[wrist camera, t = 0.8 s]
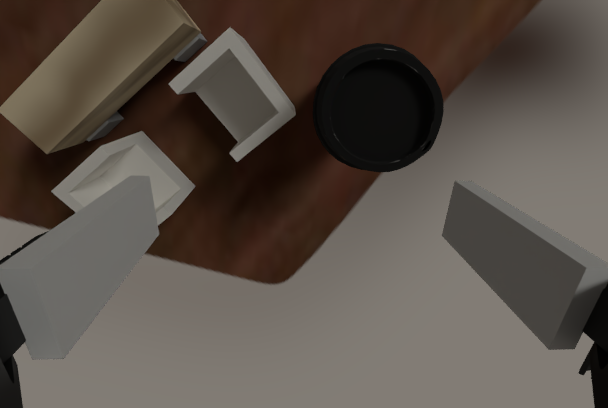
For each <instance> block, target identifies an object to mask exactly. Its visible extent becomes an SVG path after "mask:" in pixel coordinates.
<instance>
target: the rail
mask: <svg viewBox="0 0 608 408" xmlns="http://www.w3.org/2000/svg"><path fill="white" fill-rule="evenodd" d="M199 33H201V30H200V29H199V28H198V27H197V25H196V24H195V23H194V22H193V20H192V19H191V18H190V17H189V15H188V14H187V13H186V11H185V10H184V9H183V8H182V6H181V5H180V4H179V3H178V1H177V0H101V1H100V2H99V3H98V4H97V6H96V7H95V8H94V9H93V10H92V11H91V12H90V13H89V14H88V15H87V16H86V17H85V18H84V19H83V20H82V21H81V22H80V23H79V25H78V26H77V27H76V28H75V29H74V30H73V31H72V32H71V33H70V34H69V35H68V36H67V37H66V38H65V39H64V40H63V41H62V42H61V44H60V45H59V46H58V47H57V48H56V49H55V50H54V51H53V52H52V53H51V54H50V55H49V56H48V57H47V58H46V59H45V60H44V61H43V62H42V64H41V65H40V66H39V67H38V68H37V69H36V70H35V71H34V72H33V73H32V74H31V75H30V76H29V77H28V78H27V79H26V80H25V81H24V83H23V84H22V85H21V86H20V87H19V88H18V89H17V90H16V91H15V92H14V93H13V94H12V95H11V96H10V97H9V98H8V99H7V100H6V102H5V103H4V104H3V105H2V106H1V107H0V113H1V114H2V115H3V116H5V117H6V118H7V119H8V120H9V121H10V122H11V123H12V124H13V125H15V126H16V127H17V128H18V129H19V130H20V131H21V132H22V133H24V134H25V135H26V136H27V137H28V138H29V139H30V140H31V141H33V142H34V143H35V144H36V145H37V146H38V147H39V148H40V149H41V150H43V151H44V152H45V153H46V154H49V153H52V152H55V151H59V150H62V149H65V148H68V147H71V146H74V145H77V144H80V143H83V142H84V141H85V140H86V139H87V138H89V137H90V136H91V135H92V134H93V133H94V132H95V131H96V130H97V129H98V128H99V127H100V126H101V125H102V124H103V123H105V122H106V121H107V120H108V119H109V118H110V117H111V116H112V115H113V114H114V113H115V112H116V111H117V110H118V109H119V108H121V107H122V106H123V105H124V104H125V103H126V102H127V101H128V100H129V99H130V98H131V97H132V96H133V95H134V94H135V93H137V92H138V91H139V90H140V89H141V88H142V87H143V86H144V85H145V84H146V83H147V82H148V81H149V80H150V79H151V78H153V77H154V76H155V75H156V74H157V73H158V72H159V71H160V70H161V69H162V68H163V67H164V66H165V65H166V64H167V63H169V62H170V61H171V60H172V59H173V58H174V57H175V56H176V55H177V54H178V53H179V52H180V51H181V50H182V49H183V48H185V47H186V46H187V45H188V44H189V43H190V42H191V41H192V40H193V39H194V38H195V37H196V36H197V35H198V34H199Z"/></svg>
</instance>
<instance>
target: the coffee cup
mask: <svg viewBox="0 0 608 408" xmlns="http://www.w3.org/2000/svg"><path fill="white" fill-rule="evenodd" d="M442 117H443V98H442V94H441V90H440V88H439V86H438V84H437V82H436V79H435V78H434V77H433V75H432V74H431V72H430V71H429V70H428V69H427V68H426V67H425V66H424V65H423V64H422V63H421V62H420V61H419V60H418V59H417V58H416V57H415V56H414V55H413V54H411V53H409V52H408V51H406V50H405V49H402V48H400V47H397V46H394V45H390V44H380V43H375V44H367V45H362V46H360V47H357V48H354V49H352V50H350V51H348V52H347V53H345V54H343V55H342V56H340V57H339V58H338V59H337V60H336V61H335V62H334V63H333V64H331V66H330V67H329V68H328V70H327V71H326V72H325V74H324V75H323V77H322V79H321V81H320V83H319V85H318V87H317V90H316V94H315V97H314V104H313V119H314V126H315V129H316V132H317V135H318V137H319V139H320V141H321V143H322V145H323V146H324V147H325V148H326V150H327V151H328V152H329V153H330V154H331V155H332V156H333V157H335V158H336V159H337V160H338V161H340V162H342V163H344V164H346V165H348V166H350V167H354V168H357V169H361V170H368V171H374V172H390V171H394V170H398V169H401V168H403V167H405V166H408V165H409V164H411V163H413V162H414V161H416V160H417V159H418V158H420V157H421V156H423V155H424V154H425V153H426V152H427V151H429V150H430V149H431V147H432V145H433V144H434V141H435V139H436V137H437V134H438V132H439V128H440V126H441V122H442Z"/></svg>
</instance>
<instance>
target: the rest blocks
mask: <svg viewBox="0 0 608 408" xmlns="http://www.w3.org/2000/svg"><path fill="white" fill-rule="evenodd" d="M206 42H207V40H206V39H205V38H204V36H203V35H202V34H201V33H199V34H198V35H197V36H196V37H195V38H194V39H193V40H192V41H191V42H190V43H189V44H188V45H187V46H186V47H185V48H183V49H182V50H181V51H180V52H179V53H178V54H177V55H176V56H175V57H174V59H175V60H176V61H183V62H186V61H187V60H188V59H189V58H190V57H191V56H192V55H193V54H195V53H196V52H197V51H198V50H199V49H200V48H201V47H202V46H203V45H204V44H205V43H206ZM123 119H124V118H123V117H122V116H121V115H120V114H119V113H118V112H117V111H116V112H115V113H114V114H113V115H112V116H111V117H110V118H109V119H108V120H107V121H106V122H105V123H103V124H102V125H101V126H100V127H99V128H98V129H97V130H96V131H95V132H94V133H93V134H92V135H91V136H90V137H89V138H87V139H86V140H87V141H88V142H89V141H92V140H95V139H98V138H101V137H104V136H106V135H107V134H108V133H109V132H110V131H111V130H112V129H113V128H114V127H116V126H117V125H118V124H119V123H120V122H121V121H122V120H123Z"/></svg>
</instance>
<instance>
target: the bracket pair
mask: <svg viewBox="0 0 608 408" xmlns="http://www.w3.org/2000/svg"><path fill="white" fill-rule="evenodd" d="M169 85H170V86H171V88H172V89H173V90H174V91H175V92H176V93H177V94H184V93H190V92H196V93H197V95H198V96H199V97H200V98H201V99H202V100H203V102H204V103H205V104H206V105H207V106H208V107H209V109H210V110H211V111H212V112H213V113H214V114H215V116H216V117H217V118H218V119H219V120H220V122H221V123H222V124H223V125H224V126H225V127H226V129H227V130H228V131H229V132H230V133H231V134H232V136H233V137H234V138H235V139H236V140H237V141H238V143H237V144H236V145H235V146H234V148H233V149H232V150H231V151H230V153H229V154H230V155H231V156H232V157H233V158H234V159H235V160H236V162H238V161H239V160H240V159H242V158H243V157H244V156H245V155H247V154H248V153H249V152H250V151H251V150H253V149H254V148H255V147H256V146H258V145H259V144H260V143H261V142H263V141H264V140H265V139H266V138H268V137H269V136H270V135H271V134H273V133H274V132H275V131H276V130H278V129H279V128H280V127H281V126H283V125H284V124H285V123H286V122H288V121H289V120H290V119H291V118H293V117H294V116H295V115H296V112H295V106H294V105H293V104H292V102H291V101H290V100H289V98H288V97H287V96H286V94H285V93H284V92H283V90H282V89H281V88H280V86H279V85H278V84H277V82H276V81H275V79H274V78H273V77H272V75H271V74H270V73H269V71H268V70H267V69H266V67H265V66H264V65H263V63H262V62H261V61H260V59H259V58H258V57H257V55H256V54H255V53H254V51H253V50H252V49H251V47H250V46H249V45H248V43H247V42H246V41H245V39H244V38H242V37H241V36H240V35H239V34H238V33H236V32H235V31H234V30H233V29H232V28H229V29H227V30H226V31H225V32H224V33H223V34H222V35H221V36H220V37H219V38H218V39H217V40H215V41H214V42H213V43H212V44H211V45H210V46H209V47H208V48H207V49H206V50H205V51H203V52H202V53H201V54H200V55H199V56H198V57H197V58H196V59H195V60H194V61H193V62H192V63H190V64H189V65H188V66H187V67H186V68H185V69H184V70H183V71H182V72H181V73H180V74H178V75H177V76H176V77H175V78H174V79H173V80H172V81H171V82H170V83H169ZM130 175H131V176H150V182H151V188H152V194H153V200H154V206H155V212H156V218H157V224H158V225H159V224H160V223H162V222H163V221H164V220H165V219H167V218H168V217H169V216H170V215H172V213H173V212H174V211H175V210H176V209H177V208H178V206H179V205H180V204H181V203H182V202H183V201H184V199H185V198H186V197H187V196H188V195H189V194H190V192H191V191H192V190H193V189H194V188H195V187H196V186H195V185H194V184H193V183H192V182H191V181H190V180H189V179H188V178H187V177H186V176H185V175H184V174H183V173H182V172H181V171H180V170H179V169H178V168H177V167H176V166H175V165H174V164H173V162H172V161H171V160H170V159H169V158H168V157H167V156H166V155H165V154H164V153H163V152H162V151H161V150H160V149H159V148H158V147H157V146H156V145H155V144H154V143H153V142H152V141H151V140H150V139H149V138H148V137H147V136H146V134H145V133H144V132H143V131H140V132H138V133H135V134H132V135H129V136H127V137H124V138H121V139H119V140H116V141H113V142H110V143H108V144H105V145H102V146H100V147H99V148H98V149H97V150H96V151H95V152H94V153H92V154H91V155H90V156H89V157H88V158H87V159H86V160H85V161H84V162H83V163H82V164H80V165H79V166H78V167H77V168H76V169H75V170H74V171H73V172H72V173H71V174H70V175H69V176H67V177H66V178H65V179H64V180H63V181H62V182H61V183H60V184H59V185H58V186H57V187H55V188H54V189H53V190H52V191H51V192H52V193H53V194H55V195H56V196H57V197H58V198H59V199H60V200H62V201H63V202H64V203H65V204H66V205H68V206H69V207H70V208H71V209H72V210H73V211H75V212H78V211H79V210H81V209H82V208H84V207H85V206H87V205H88V204H90V203H91V202H93V201H94V200H95V199H97V198H98V197H100V196H101V195H103V194H104V193H106V192H107V191H109V190H110V189H111V188H113V187H114V186H116V185H117V184H119V183H120V182H122V181H123V180H125V179H126V178H128V177H129V176H130Z"/></svg>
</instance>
